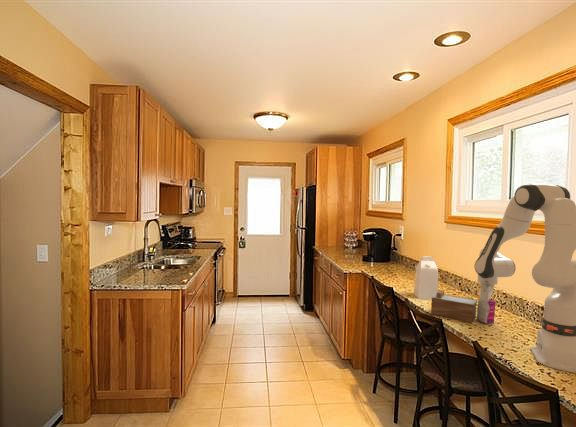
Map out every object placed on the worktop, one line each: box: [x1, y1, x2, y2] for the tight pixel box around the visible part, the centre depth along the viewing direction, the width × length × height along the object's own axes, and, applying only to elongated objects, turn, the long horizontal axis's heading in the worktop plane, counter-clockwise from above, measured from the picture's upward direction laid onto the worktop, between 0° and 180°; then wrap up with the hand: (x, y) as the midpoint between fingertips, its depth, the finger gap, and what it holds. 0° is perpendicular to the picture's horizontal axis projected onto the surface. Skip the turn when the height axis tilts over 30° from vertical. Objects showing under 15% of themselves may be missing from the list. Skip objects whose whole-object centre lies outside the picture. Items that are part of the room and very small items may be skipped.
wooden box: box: [430, 294, 478, 324], centre depth 189 cm, size 12×20×9 cm, turn 54°
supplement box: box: [476, 298, 497, 325], centre depth 181 cm, size 6×6×12 cm
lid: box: [432, 289, 477, 305], centre depth 189 cm, size 9×20×4 cm, turn 54°
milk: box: [413, 255, 439, 300], centre depth 226 cm, size 12×12×26 cm
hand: (486, 306), depth 181 cm, fingers closed on supplement box, 8 cm apart
